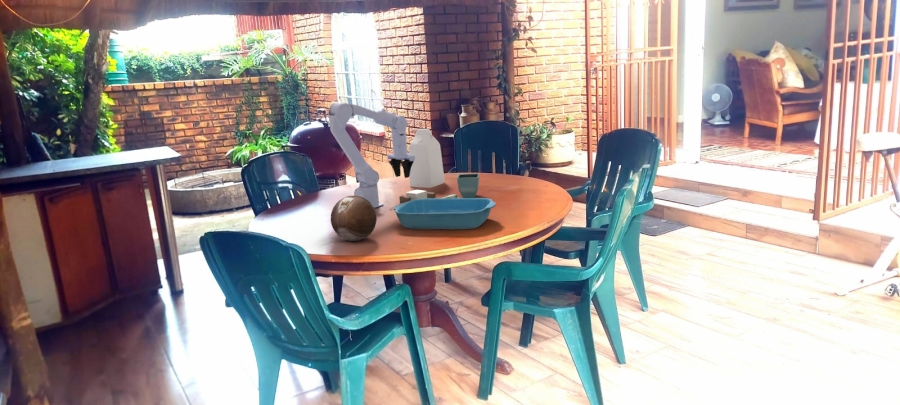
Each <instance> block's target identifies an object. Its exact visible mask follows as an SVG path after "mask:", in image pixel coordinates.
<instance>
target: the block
mask: <svg viewBox="0 0 900 405" xmlns="http://www.w3.org/2000/svg"><path fill="white" fill-rule="evenodd" d="M427 192H428V191H427V190H421V189H414V190H410V191H406V192H405V197H411V200H415V199H427Z"/></svg>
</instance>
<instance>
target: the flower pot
mask: <svg viewBox="0 0 900 405" xmlns="http://www.w3.org/2000/svg"><path fill="white" fill-rule="evenodd" d="M456 179H457V188H458V192H459V194H460V197H461V198H476V196H477V193H478V192H479V191H478V190H479V186H480V173H461V174H460V173H459V174H458V175H457V177H456Z"/></svg>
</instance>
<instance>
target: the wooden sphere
mask: <svg viewBox="0 0 900 405" xmlns="http://www.w3.org/2000/svg"><path fill="white" fill-rule="evenodd" d="M377 218H378V217H377V212H376V209H375V208H374V207H373V205H372V204H371V203H370V202H369V201H368V200H367V199H365V198H363V197H360V196H354V195H348V196H345V197H343V198H341V199H340V200H338V201H337V202H336V203H335V205H334V206H333V207H332V210H331V214H330V224H331V225H330V226H331V227H332V229H333V231H334V233H335V234H336V235H337V236H338V237H339V238H342V240H346V241H348V242H358V241H362V240H365V239H366V238H368V237H369V236H371V234H372V233H373V231H374V230H375V228H376V225H377Z"/></svg>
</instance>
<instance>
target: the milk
mask: <svg viewBox="0 0 900 405" xmlns="http://www.w3.org/2000/svg"><path fill="white" fill-rule="evenodd" d="M408 154H409V155H413V156H415V160H414V162H413V164H412V167H411V170H410V176H409V187H412V188H415V187H416V188H434V187H435V188H436V187H437V186H439V185H442V184H445V182H446V181H445V174H444V165H443V157H442V156H443V155H442V150H441V144H440V142H439V140H437V138H435V136H434V135H433V134H432V132H431V130H430V128H417V129H416V133H415V135H414V137H413V139H412V141H411V142H410V144H409V146H408Z"/></svg>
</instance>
